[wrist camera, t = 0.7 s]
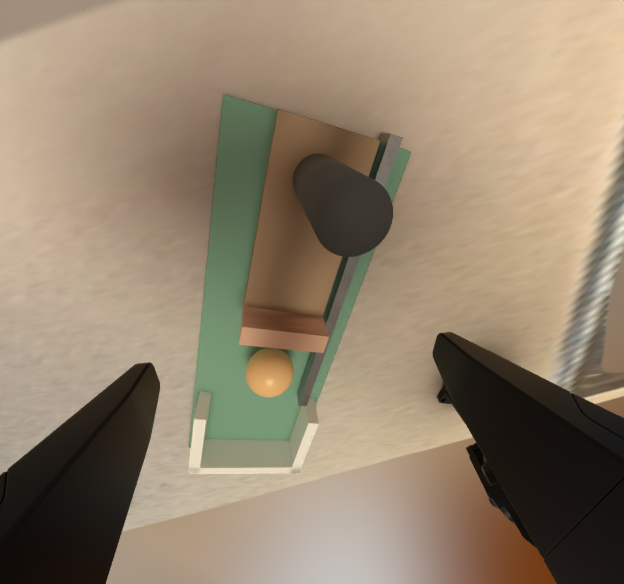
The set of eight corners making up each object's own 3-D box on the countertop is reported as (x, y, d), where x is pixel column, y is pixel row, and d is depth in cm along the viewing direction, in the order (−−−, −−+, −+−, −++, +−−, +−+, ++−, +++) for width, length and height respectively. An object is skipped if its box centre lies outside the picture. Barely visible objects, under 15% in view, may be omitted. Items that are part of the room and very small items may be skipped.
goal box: (313, 397, 30) (318, 423, 27) (296, 446, 34) (298, 472, 31) (200, 391, 27) (193, 419, 25) (194, 444, 31) (188, 474, 28)
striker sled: (371, 139, 18) (460, 153, 10) (314, 320, 25) (341, 418, 17) (277, 110, 17) (292, 99, 9) (242, 311, 23) (232, 414, 15)
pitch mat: (410, 151, 20) (411, 151, 19) (299, 447, 34) (299, 448, 34) (223, 94, 16) (223, 93, 16) (189, 445, 31) (188, 447, 31)
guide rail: (393, 136, 19) (402, 137, 17) (304, 393, 29) (306, 405, 28) (381, 133, 18) (390, 133, 17) (296, 393, 29) (298, 405, 28)
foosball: (295, 340, 26) (301, 374, 22) (286, 373, 28) (290, 409, 24) (250, 335, 25) (248, 369, 21) (243, 370, 27) (240, 406, 23)
